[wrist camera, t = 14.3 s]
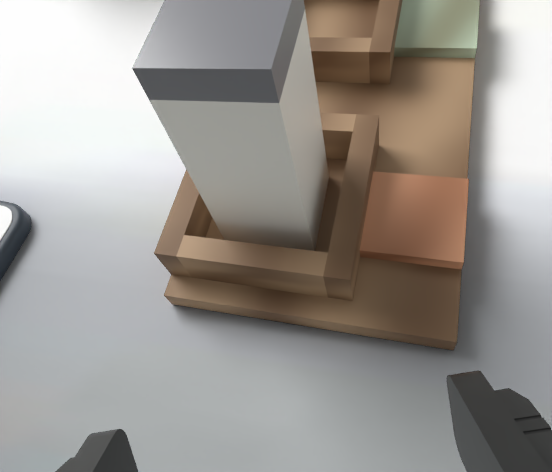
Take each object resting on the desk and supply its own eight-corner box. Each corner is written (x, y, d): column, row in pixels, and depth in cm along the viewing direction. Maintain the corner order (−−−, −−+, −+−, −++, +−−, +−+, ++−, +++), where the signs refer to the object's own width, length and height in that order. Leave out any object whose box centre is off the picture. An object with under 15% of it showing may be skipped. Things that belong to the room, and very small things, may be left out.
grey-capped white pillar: (226, 243, 22) (132, 68, 14) (247, 171, 24) (175, -22, 16) (314, 252, 21) (270, 69, 13) (329, 176, 23) (299, -28, 15)
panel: (172, 304, 22) (145, 275, 20) (281, -8, 32) (272, -54, 30) (453, 350, 19) (464, 323, 17) (477, -12, 29) (486, -63, 27)
